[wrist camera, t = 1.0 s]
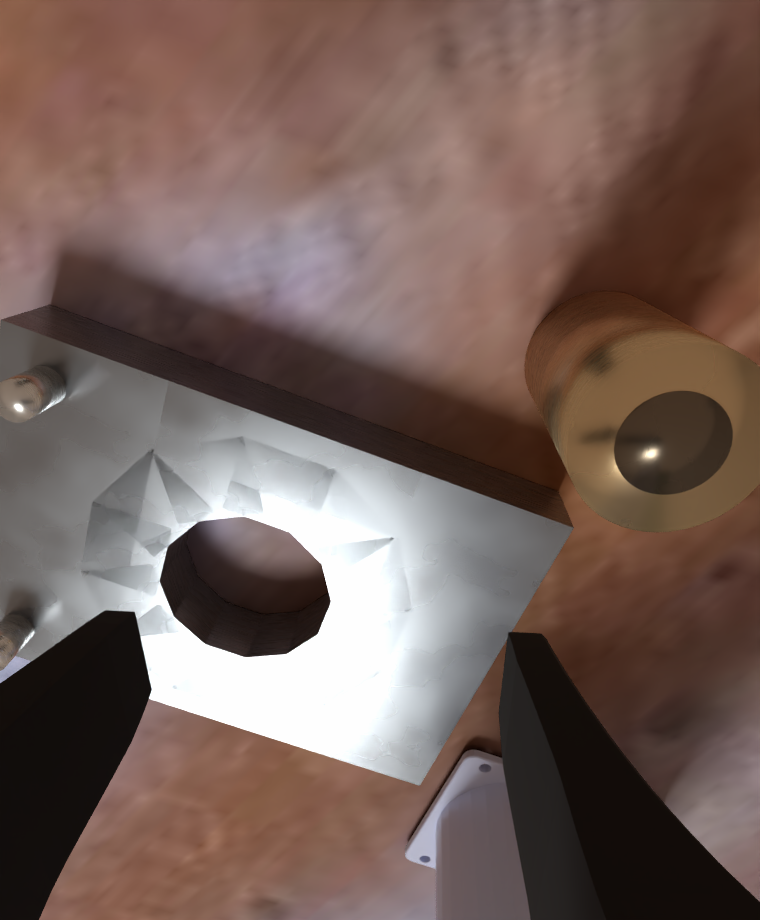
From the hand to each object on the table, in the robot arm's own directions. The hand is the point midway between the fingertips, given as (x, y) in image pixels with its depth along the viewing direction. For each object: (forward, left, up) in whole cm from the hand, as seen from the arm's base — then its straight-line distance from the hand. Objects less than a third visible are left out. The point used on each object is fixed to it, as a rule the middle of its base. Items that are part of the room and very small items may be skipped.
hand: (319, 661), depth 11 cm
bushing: (-6, -6, -10) cm, 13 cm away
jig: (+2, +5, -10) cm, 12 cm away
